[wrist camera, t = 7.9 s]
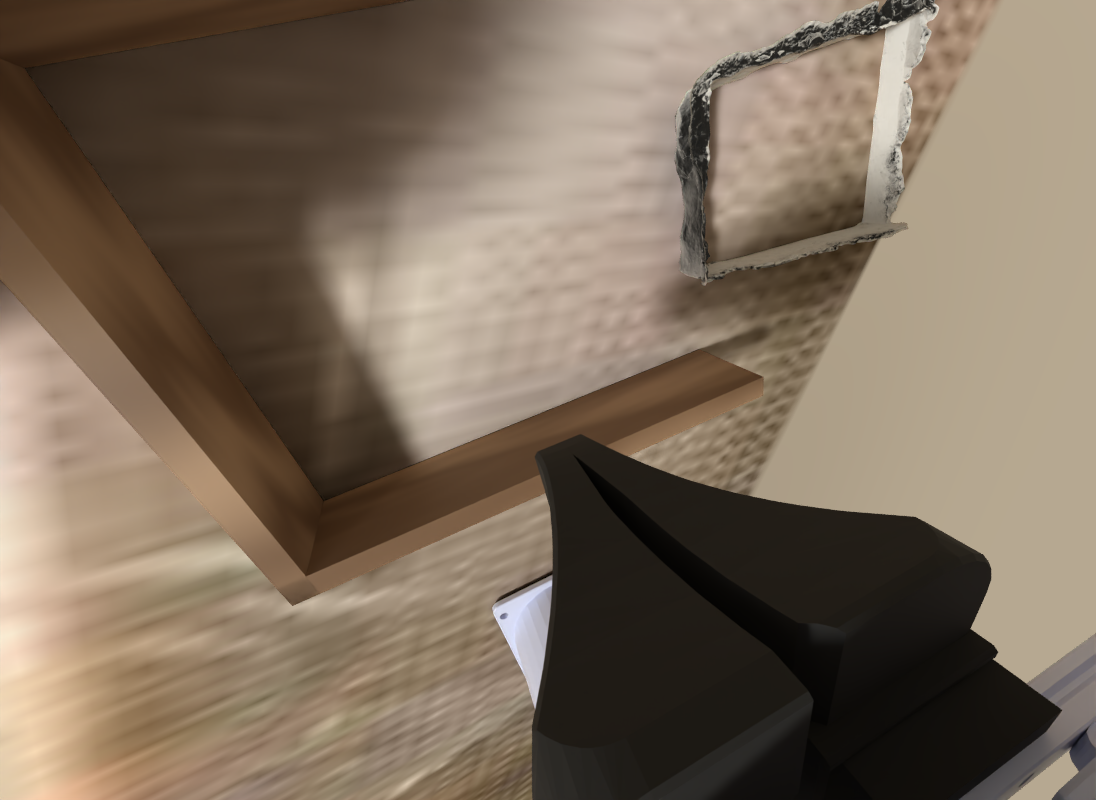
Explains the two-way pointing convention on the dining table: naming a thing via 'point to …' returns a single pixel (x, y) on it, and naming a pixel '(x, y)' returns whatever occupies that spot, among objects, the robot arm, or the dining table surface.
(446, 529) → the walnut u-shaped frame
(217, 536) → the dining table surface
